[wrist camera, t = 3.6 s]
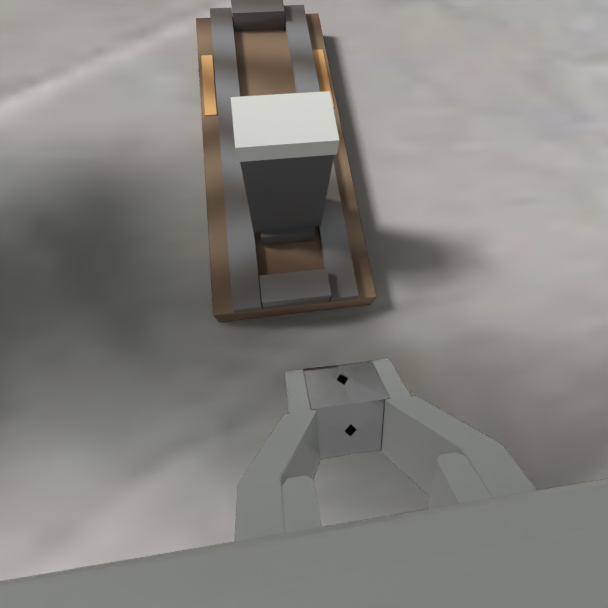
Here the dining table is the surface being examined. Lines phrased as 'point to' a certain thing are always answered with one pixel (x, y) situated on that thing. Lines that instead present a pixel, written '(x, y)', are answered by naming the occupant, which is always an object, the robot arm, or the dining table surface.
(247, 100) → the fader knob
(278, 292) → the fader console
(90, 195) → the dining table surface
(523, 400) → the dining table surface
